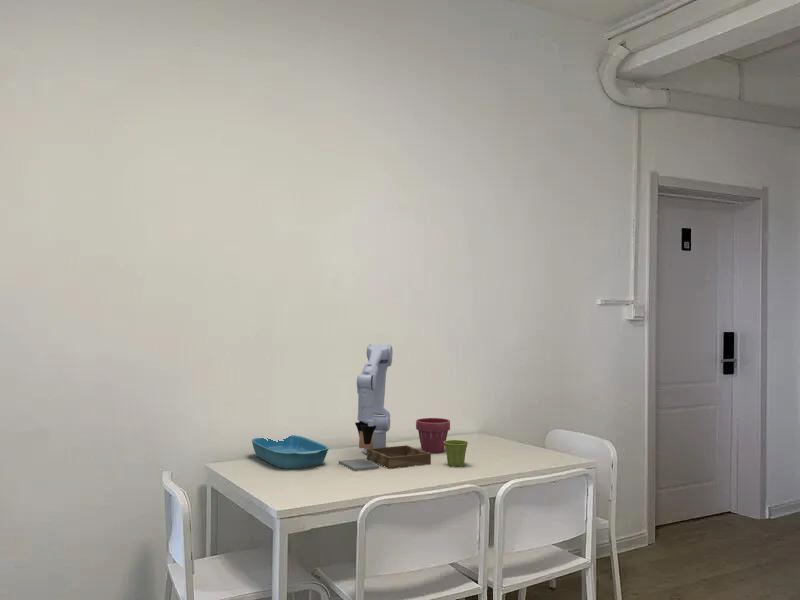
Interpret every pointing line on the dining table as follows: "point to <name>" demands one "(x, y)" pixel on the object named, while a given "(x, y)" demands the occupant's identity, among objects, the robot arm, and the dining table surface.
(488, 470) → the dining table surface
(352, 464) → the slate board
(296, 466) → the casserole dish
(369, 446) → the terracotta pot
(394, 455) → the brown wooden tray
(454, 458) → the plant pot
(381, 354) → the robot arm
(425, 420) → the plant pot
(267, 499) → the dining table surface
